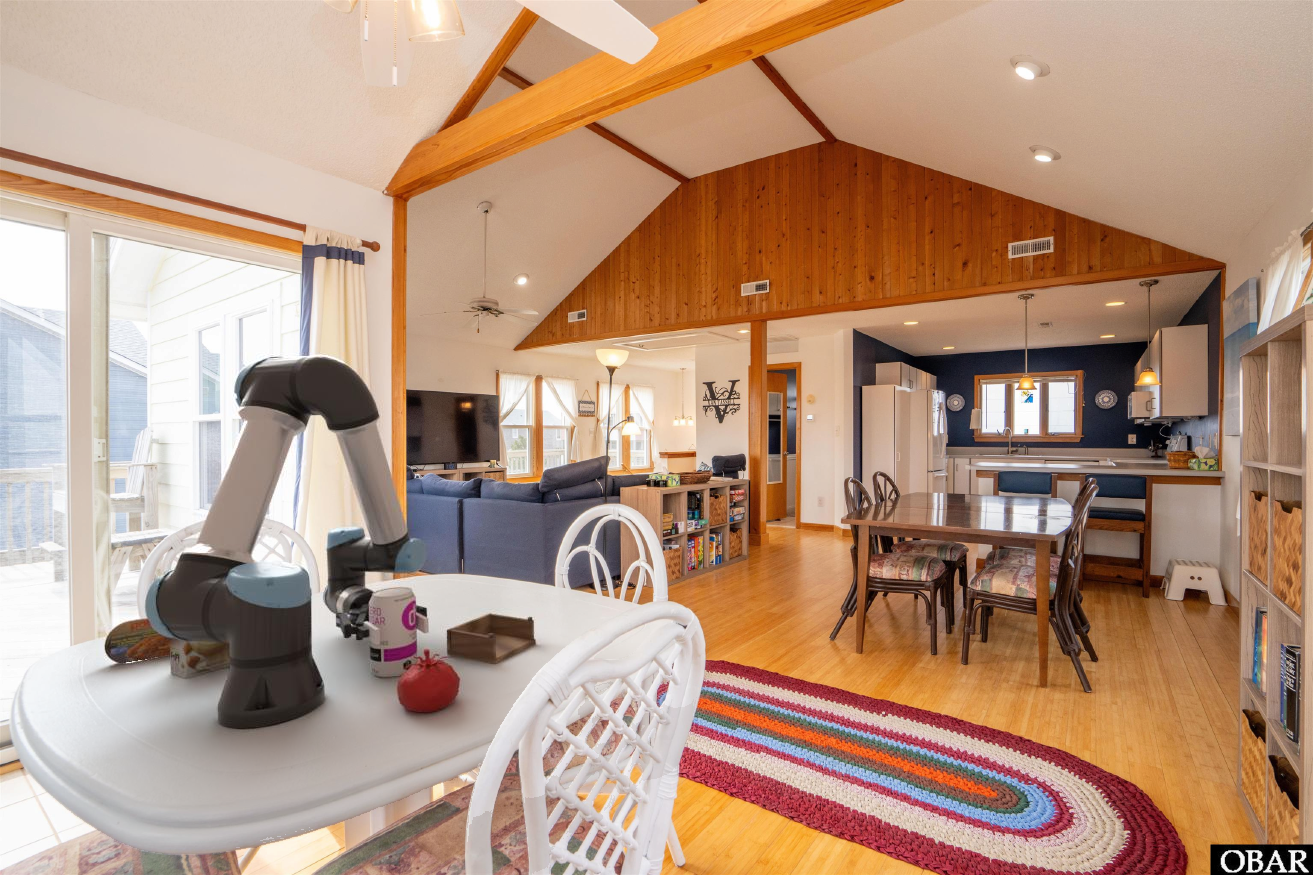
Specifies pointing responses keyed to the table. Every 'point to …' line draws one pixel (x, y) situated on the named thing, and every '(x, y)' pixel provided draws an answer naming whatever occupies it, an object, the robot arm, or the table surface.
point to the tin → (136, 642)
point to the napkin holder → (490, 638)
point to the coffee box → (197, 657)
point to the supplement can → (393, 631)
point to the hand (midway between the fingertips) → (402, 631)
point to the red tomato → (428, 685)
